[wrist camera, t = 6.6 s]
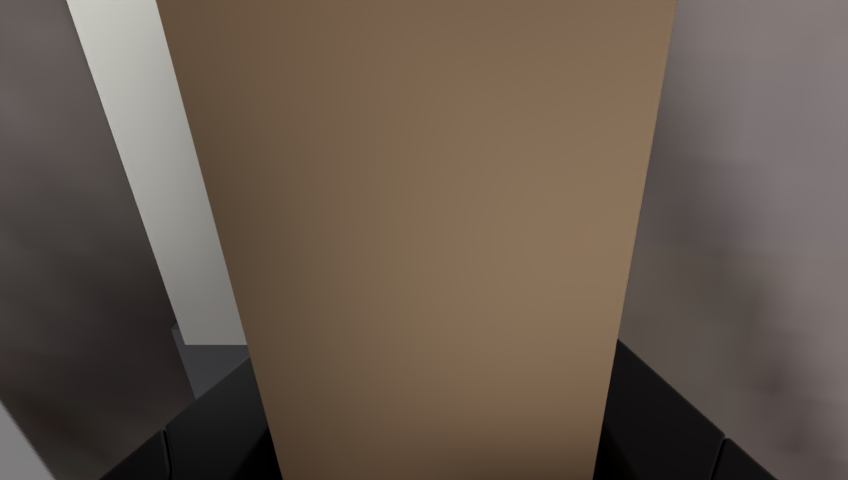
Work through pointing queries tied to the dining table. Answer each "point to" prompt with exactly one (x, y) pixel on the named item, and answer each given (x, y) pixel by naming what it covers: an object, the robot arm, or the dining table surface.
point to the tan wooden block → (426, 219)
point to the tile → (160, 162)
